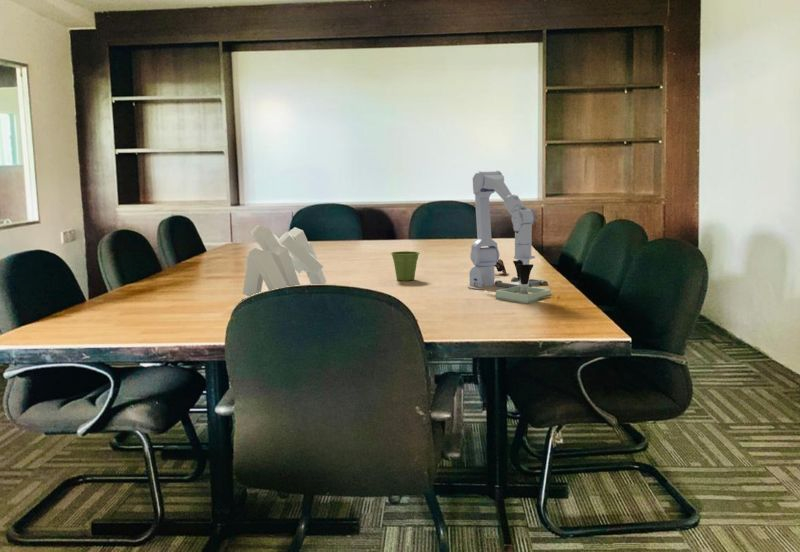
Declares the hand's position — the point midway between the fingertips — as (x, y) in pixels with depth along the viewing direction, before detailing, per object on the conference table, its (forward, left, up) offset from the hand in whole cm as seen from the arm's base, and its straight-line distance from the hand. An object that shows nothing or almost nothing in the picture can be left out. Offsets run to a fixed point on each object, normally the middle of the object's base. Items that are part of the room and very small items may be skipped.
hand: (522, 282), depth 260 cm
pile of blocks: (-53, +68, -6) cm, 86 cm away
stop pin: (0, 0, -4) cm, 5 cm away
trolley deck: (+15, +12, -6) cm, 20 cm away
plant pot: (+2, +61, -6) cm, 61 cm away
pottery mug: (+37, +42, -6) cm, 56 cm away
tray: (-1, -1, -6) cm, 6 cm away
